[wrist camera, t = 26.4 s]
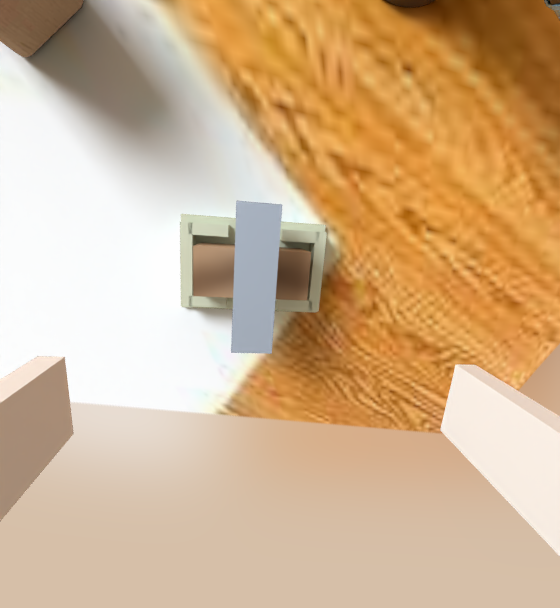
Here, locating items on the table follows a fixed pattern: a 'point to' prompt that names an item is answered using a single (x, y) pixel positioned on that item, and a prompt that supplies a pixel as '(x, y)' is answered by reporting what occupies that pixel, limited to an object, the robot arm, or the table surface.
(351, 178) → the table surface
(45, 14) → the wooden block
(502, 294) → the table surface
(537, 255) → the table surface
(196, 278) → the brown rectangular block
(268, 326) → the blue-grey rectangular prism
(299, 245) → the jig
